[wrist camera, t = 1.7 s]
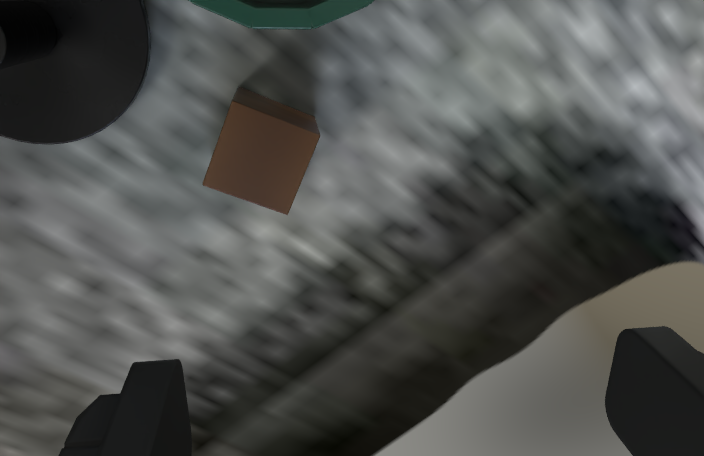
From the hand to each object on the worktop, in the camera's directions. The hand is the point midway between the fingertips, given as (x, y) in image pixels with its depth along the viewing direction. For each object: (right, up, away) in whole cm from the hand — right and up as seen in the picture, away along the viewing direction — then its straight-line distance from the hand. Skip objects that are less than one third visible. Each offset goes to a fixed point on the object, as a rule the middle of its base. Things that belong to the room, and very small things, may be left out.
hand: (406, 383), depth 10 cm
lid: (-15, +11, +15) cm, 24 cm away
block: (-5, +7, +18) cm, 20 cm away
